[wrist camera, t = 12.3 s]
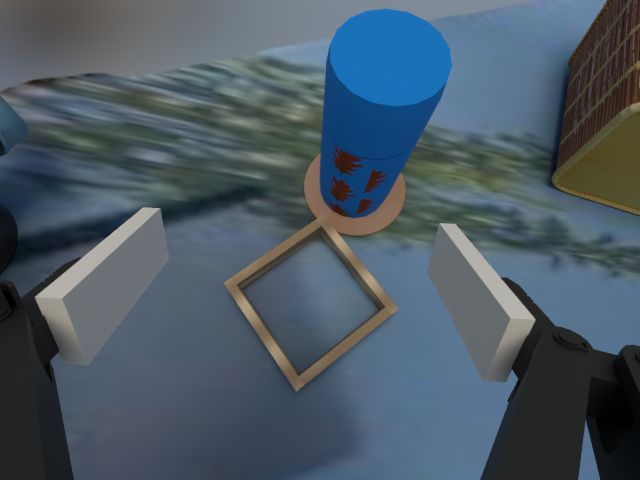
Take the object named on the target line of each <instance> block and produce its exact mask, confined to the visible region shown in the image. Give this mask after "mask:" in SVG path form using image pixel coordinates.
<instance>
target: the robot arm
mask: <svg viewBox="0 0 640 480" xmlns="http://www.w3.org/2000/svg"><path fill="white" fill-rule="evenodd" d="M27 132H28V128H27V125H26V123H25V122H24V120H23V119H22V118H21V117H20V116H19V115H18V114H17V113H16V112H15V111H14V109H13V108H12V107H11V106H10V105H9V104H8V103H7V102H6V101H5V100H4V99H3V98H2V97H1V96H0V157H1V156H2V155H4V154H7V153H8V152H9V151H10V149H11V148H12V147H13V146H15V145H16V144H17V143H19V142H20V141H21V140H23V139H24V138H25V137H26V135H27ZM16 242H17V229H16V224H15V222H14V219H13V218H12V216H11V214H10V213H9V212H8V211H7V210H6V209H5V208H4V207H2V206H1V205H0V274H1V273H2V271H3V270H4V269H5V268H6V266H7V265H8V263H9V261H10V260H11V258H12V255H13V253H14V250H15V247H16ZM168 260H169V254H168V248H167V243H166V238H165V232H164V227H163V221H162V216H161V210H160V208H144V207H143V208H142V209H141V210H140V211H138V212H137V213H136V214H135V215H134V216H132V217H131V218H130V219H129V220H128V221H126V222H125V223H124V224H123V225H122V226H120V227H119V228H118V229H117V230H115V231H114V232H113V233H112V234H111V235H109V236H108V237H107V238H106V239H105V240H103V241H102V242H101V243H100V244H99V245H97V246H96V247H95V248H94V249H92V250H91V251H90V252H89V253H88V254H86V255H85V256H84V257H83V258H77V259H75V260H73V261H71V262H68V263H66V264H64V265H63V266H62V267H60V268H59V269H58V270H56V271H55V272H54V273H53V275H50V276H49V277H48V278H46V279H45V281H44V282H41V283H40V284H39V285H38V286H36V287H35V288H34V289H33V290H31V291H30V292H29V293H27V294H26V295H25V296H24V297H22V298H20V296H19V294H18V292H17V290H16V287H15V286H14V284H13V283H12V282H9V281H0V480H74V478H73V473H72V467H71V462H70V456H69V451H68V446H67V440H66V435H65V429H64V424H63V419H62V413H61V408H60V402H59V397H58V392H57V386H56V381H55V375H54V370H53V367H52V365H51V363H50V360H51V359H52V358H53V357H54V356H55V355H56V354H57V353H58V352H59V354H60V356H61V358H62V361H63V363H64V365H84V366H88V365H89V364H90V363H91V361H92V360H93V359H94V357H95V356H96V355H97V354H98V352H99V351H100V350H101V348H102V347H103V346H104V344H105V343H106V342H107V340H108V339H109V338H110V336H111V335H112V334H113V332H114V331H115V330H116V329H117V327H118V326H119V325H120V323H121V322H122V321H123V319H124V318H125V317H126V315H127V314H128V313H129V311H130V310H131V309H132V308H133V306H134V305H135V304H136V302H137V301H138V300H139V298H140V297H141V296H142V294H143V293H144V292H145V290H146V289H147V288H148V286H149V285H150V284H151V283H152V281H153V280H154V279H155V277H156V276H157V275H158V273H159V272H160V271H161V269H162V268H163V267H164V265H165V264H166V263H167V262H168ZM427 272H428V274H429V276H430V278H431V280H432V282H433V284H434V286H435V288H436V290H437V292H438V294H439V296H440V297H441V299H442V301H443V303H444V305H445V307H446V309H447V311H448V313H449V315H450V317H451V319H452V321H453V323H454V325H455V327H456V328H457V330H458V332H459V334H460V336H461V338H462V340H463V342H464V344H465V346H466V348H467V350H468V352H469V354H470V356H471V357H472V359H473V361H474V363H475V365H476V367H477V369H478V371H479V373H480V375H481V377H482V379H483V381H497V382H506V380H507V378H508V376H509V374H510V372H511V370H513V371H514V373H515V374H516V376H517V378H518V381H517V383H516V385H515V387H514V389H513V391H512V393H511V395H510V397H509V399H508V401H507V402H509V403H508V406H507V409H506V412H505V414H504V417H503V420H502V422H501V425H500V428H499V430H498V433H497V436H496V439H495V441H494V444H493V447H492V449H491V452H490V455H489V457H488V460H487V463H486V466H485V468H484V471H483V474H482V476H481V479H480V480H578V476H579V468H580V460H581V452H582V444H583V436H584V427H585V419H586V422H587V426H588V430H589V434H590V438H591V443H592V447H593V451H594V455H595V459H596V463H597V467H598V472H599V476H600V480H640V346H636V345H626V346H625V347H623V348H622V349H621V351H620V352H619V354H618V355H614V354H610V353H606V352H602V351H598V350H594V349H593V348H592V346H591V345H590V344H589V342H588V341H587V340H586V339H584V338H583V337H582V336H580V335H579V334H577V333H575V332H573V331H571V330H568V329H565V328H562V327H557V326H555V325H554V324H553V323H552V322H551V321H550V319H549V318H548V317H547V316H546V315H545V314H544V313H543V312H542V311H541V309H540V308H539V307H538V306H537V305H536V304H534V303H533V300H532V299H531V298H530V297H529V296H527V294H526V293H525V292H524V290H523V289H522V288H521V287H520V286H519V285H517V284H516V283H514V282H513V281H511V280H510V279H508V278H502V277H499V275H498V274H497V273H496V272H495V271H494V269H493V268H492V267H491V266H490V265H489V264H488V262H487V261H486V260H485V259H484V258H483V256H482V255H481V254H480V253H479V252H478V250H477V249H476V248H475V247H474V246H473V245H472V243H471V242H470V241H469V240H468V239H467V237H466V236H465V235H464V234H463V233H462V231H461V230H460V229H459V228H458V227H457V226H456V224H444V223H439V227H438V231H437V235H436V239H435V243H434V247H433V250H432V254H431V258H430V262H429V266H428V270H427Z"/></svg>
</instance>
